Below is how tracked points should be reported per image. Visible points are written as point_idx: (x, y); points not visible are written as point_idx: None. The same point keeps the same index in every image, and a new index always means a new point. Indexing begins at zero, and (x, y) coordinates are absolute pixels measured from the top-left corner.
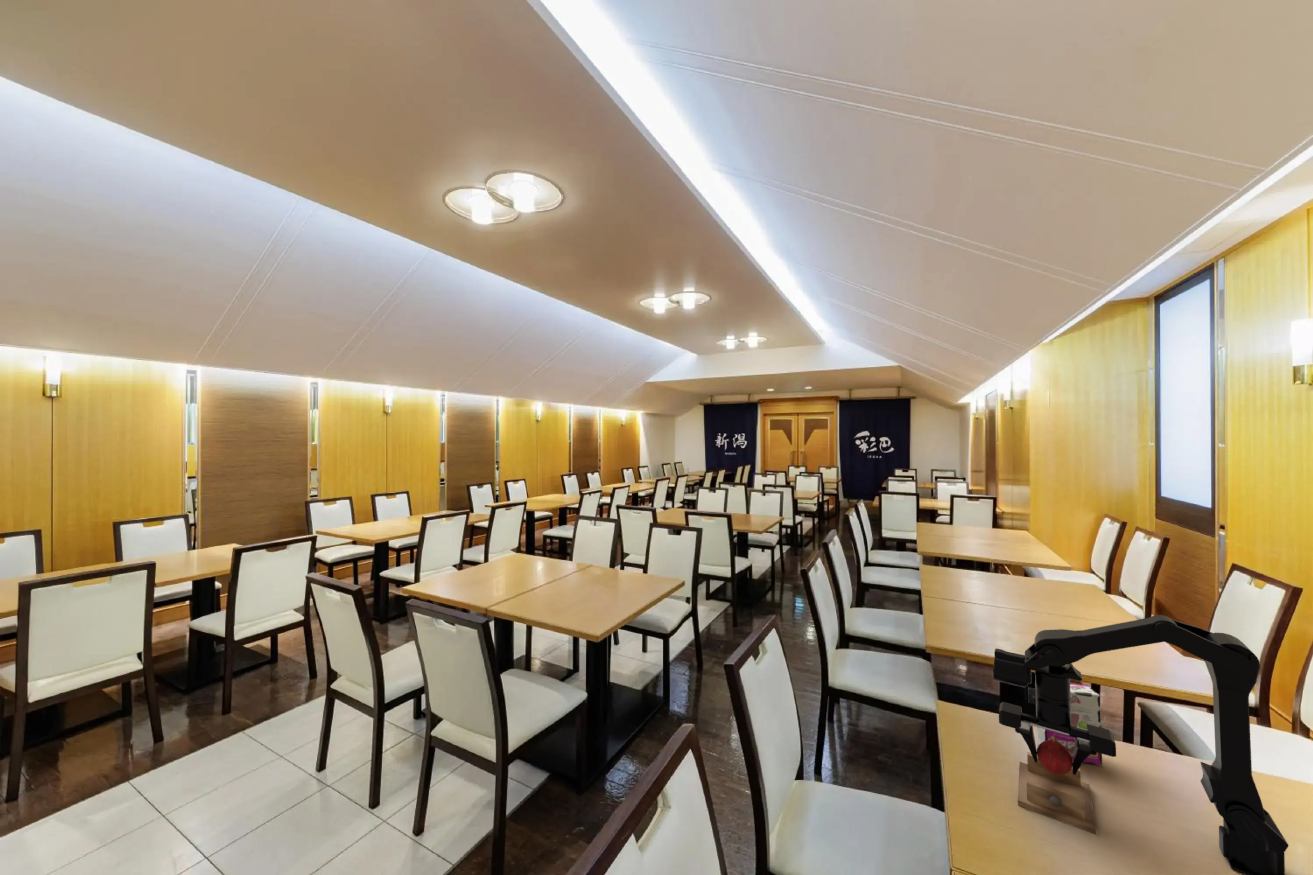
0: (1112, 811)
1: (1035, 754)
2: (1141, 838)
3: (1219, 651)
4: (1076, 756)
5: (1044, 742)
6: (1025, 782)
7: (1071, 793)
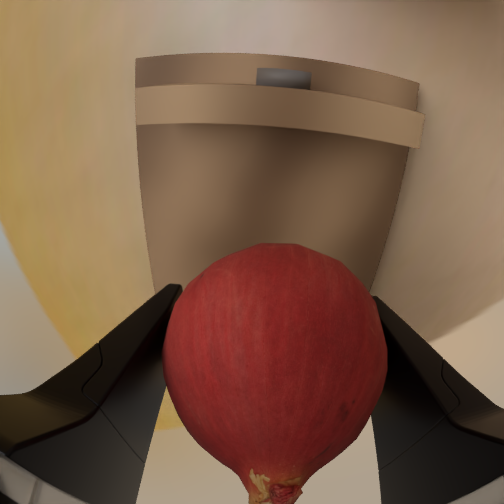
0: (439, 196)
1: None
2: (450, 281)
3: None
4: (379, 466)
5: (202, 442)
6: (166, 219)
7: (334, 195)
